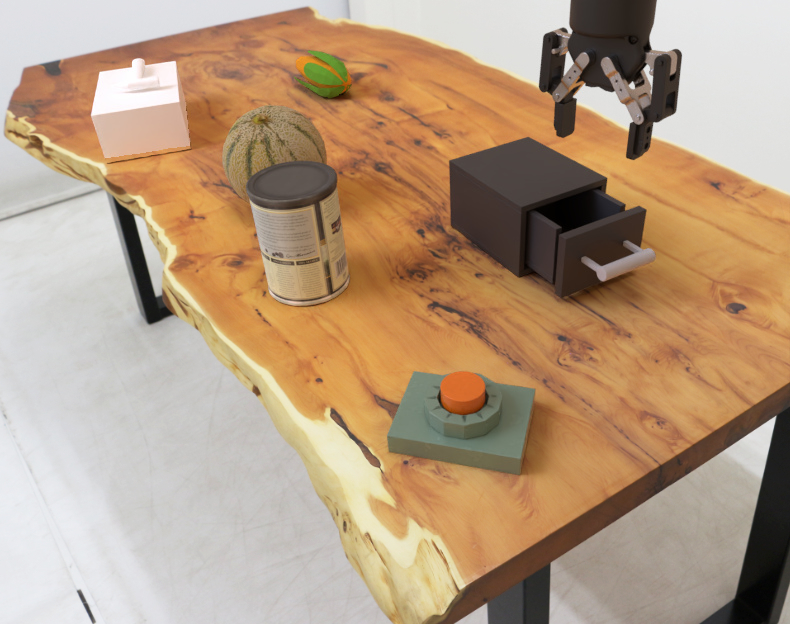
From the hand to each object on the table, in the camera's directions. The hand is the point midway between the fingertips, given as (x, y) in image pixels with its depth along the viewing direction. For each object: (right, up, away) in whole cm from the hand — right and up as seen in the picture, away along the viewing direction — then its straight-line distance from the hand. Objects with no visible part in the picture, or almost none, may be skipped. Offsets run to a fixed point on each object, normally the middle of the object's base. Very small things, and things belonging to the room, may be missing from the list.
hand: (598, 145), depth 72 cm
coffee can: (-31, -13, +16) cm, 38 cm away
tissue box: (-67, +17, +62) cm, 93 cm away
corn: (-36, +29, +74) cm, 87 cm away
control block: (-14, -28, -6) cm, 32 cm away
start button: (-15, -25, -8) cm, 30 cm away
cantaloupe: (-37, -1, +34) cm, 50 cm away
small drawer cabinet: (-4, -7, +22) cm, 23 cm away
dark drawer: (+1, -11, +14) cm, 18 cm away
